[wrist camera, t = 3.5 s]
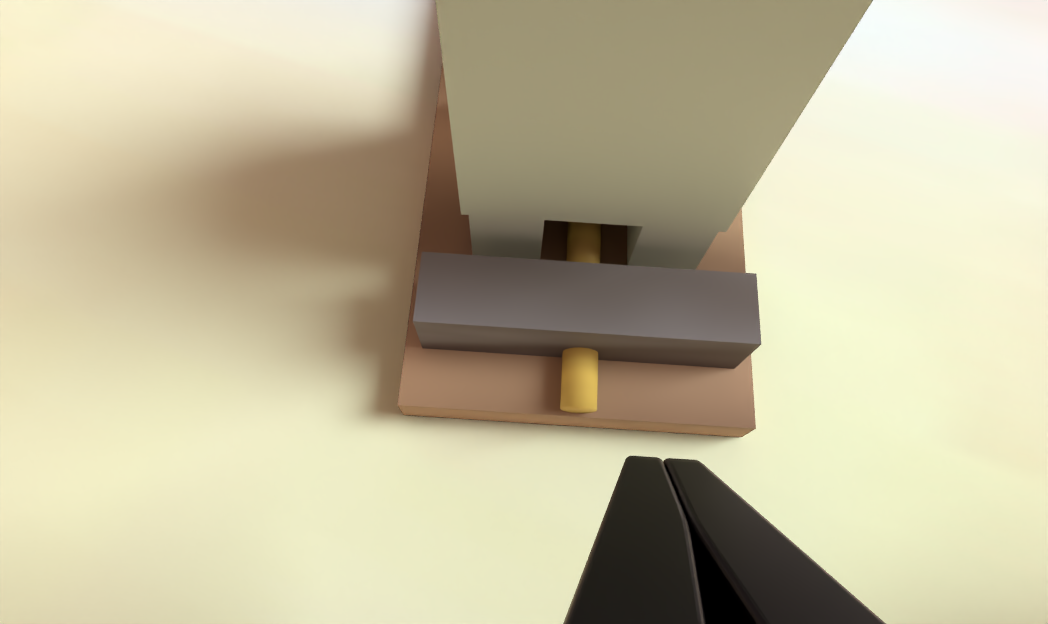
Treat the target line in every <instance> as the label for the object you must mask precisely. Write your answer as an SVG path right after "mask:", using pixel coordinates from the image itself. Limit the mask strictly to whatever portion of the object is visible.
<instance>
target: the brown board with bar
mask: <svg viewBox="0 0 1048 624" xmlns="http://www.w3.org/2000/svg"><path fill="white" fill-rule="evenodd" d="M760 345H761V334H760V319H759V305H758V291H757V277H756V274H752V273H746V271H745V256H744V240H743V225H742V210H741V209H740V211H739V213H738V214H737V216H736V217H735V219H734V220H733V222H732V224H731V225H730V227H729V228H728V230H727V232H718V233H717V235H716V237H715V238H714V240H713V242H712V243H711V245H710V246H709V248H708V250H707V251H706V253H705V255H704V256H703V258H702V260H701V261H700V263H699V264H698V266H697V268H696V269H695V270H691V269H676V268H661V267H646V266H631V265H627V225H613V224H598V223H583V222H568V221H552V220H544V228H543V238H542V247H541V256H540V259H525V258H510V257H495V256H480V255H473V254H472V244H471V234H470V224H469V215H462V214H461V210H460V202H459V193H458V185H457V177H456V168H455V160H454V152H453V143H452V135H451V127H450V118H449V110H448V101H447V93H446V85H445V76H444V68H443V63H442V70H441V78H440V86H439V93H438V101H437V108H436V116H435V124H434V131H433V139H432V146H431V154H430V162H429V169H428V177H427V184H426V192H425V200H424V207H423V215H422V222H421V230H420V238H419V245H418V253H417V260H416V268H415V276H414V283H413V291H412V298H411V306H410V314H409V321H408V329H407V336H406V344H405V352H404V359H403V367H402V374H401V382H400V390H399V397H398V407H399V408H400V410H401V412H402V413H403V415H414V416H430V417H445V418H460V419H475V420H490V421H506V422H521V423H536V424H551V425H567V426H582V427H597V428H612V429H628V430H643V431H658V432H673V433H688V434H704V435H719V436H734V437H743V436H744V435H746V434H748V433H749V432H751V431H752V430H754V429H756V425H755V410H754V395H753V379H752V364H751V353H752V352H753V351H754V350H756V349H757V348H758V347H759V346H760Z"/></svg>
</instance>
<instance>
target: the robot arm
mask: <svg viewBox="0 0 1048 624" xmlns="http://www.w3.org/2000/svg"><path fill="white" fill-rule="evenodd" d="M563 624H886V623H884V622H883V621H882V620H881V619H880V618H879V617H878V616H876V615H875V614H874V613H873V612H872V611H871V610H870V609H868V608H867V607H866V606H865V605H864V604H863V603H862V602H860V601H859V600H858V599H857V598H856V597H855V596H854V595H852V594H851V593H850V592H849V591H848V590H847V589H846V588H844V587H843V586H842V585H841V584H840V583H839V582H837V581H836V580H835V579H834V578H833V577H832V576H831V575H829V574H828V573H827V572H826V571H825V570H824V569H823V568H821V567H820V566H819V565H818V564H817V563H816V562H815V561H813V560H812V559H811V558H810V557H809V556H808V555H807V554H805V553H804V552H803V551H802V550H801V549H800V548H799V547H797V546H796V545H795V544H794V543H793V542H792V541H791V540H789V539H788V538H787V537H786V536H785V535H784V534H783V533H781V532H780V531H779V530H778V529H777V528H776V527H775V526H773V525H772V524H771V523H770V522H769V521H768V520H767V519H765V518H764V517H763V516H762V515H761V514H760V513H759V512H757V511H756V510H755V509H754V508H753V507H752V506H751V505H749V504H748V503H747V502H746V501H745V500H744V499H743V498H741V497H740V496H739V495H738V494H737V493H736V492H734V491H733V490H732V489H731V488H730V487H729V486H728V485H726V484H725V483H724V482H723V481H722V480H721V479H720V478H718V477H717V476H716V475H715V474H714V473H713V472H712V471H710V470H709V469H708V468H707V467H706V466H705V465H704V464H702V463H701V462H699V461H697V460H688V459H671V458H668V459H666V460H664V461H662V460H661V459H660V458H656V457H642V456H629V457H627V458H626V460H625V462H624V465H623V468H622V470H621V473H620V476H619V478H618V481H617V484H616V486H615V489H614V491H613V494H612V497H611V499H610V502H609V505H608V507H607V510H606V513H605V515H604V518H603V520H602V523H601V526H600V528H599V531H598V534H597V536H596V539H595V542H594V544H593V547H592V549H591V552H590V555H589V557H588V560H587V563H586V565H585V568H584V571H583V573H582V576H581V578H580V581H579V584H578V586H577V589H576V592H575V594H574V597H573V599H572V602H571V605H570V607H569V610H568V613H567V615H566V618H565V621H564V623H563Z"/></svg>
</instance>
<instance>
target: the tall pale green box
mask: <svg viewBox="0 0 1048 624" xmlns="http://www.w3.org/2000/svg"><path fill="white" fill-rule="evenodd" d="M435 1H436V10H437V18H438V26H439V35H440V43H441V51H442V60H443V68H444V76H445V85H446V93H447V101H448V110H449V118H450V127H451V135H452V143H453V152H454V160H455V168H456V177H457V185H458V193H459V202H460V210H461V214H462V215H469V224H470V234H471V244H472V254H473V255H480V256H495V257H510V258H525V259H540V256H541V247H542V238H543V228H544V220H552V221H568V222H583V223H598V224H613V225H627V265H631V266H646V267H661V268H676V269H691V270H695V269H696V268H697V266H698V264H699V263H700V261H701V260H702V258H703V256H704V255H705V253H706V251H707V250H708V248H709V246H710V245H711V243H712V242H713V240H714V238H715V237H716V235H717V233H718V232H727V230H728V228H729V227H730V225H731V224H732V222H733V220H734V219H735V217H736V216H737V214H738V213H739V211H740V209H741V208H742V206H743V205H744V203H745V202H746V200H747V198H748V197H749V195H750V194H751V192H752V190H753V189H754V187H755V186H756V184H757V183H758V181H759V179H760V178H761V176H762V175H763V173H764V172H765V170H766V168H767V167H768V165H769V164H770V162H771V160H772V159H773V157H774V156H775V154H776V153H777V151H778V149H779V148H780V146H781V145H782V143H783V142H784V140H785V138H786V137H787V135H788V134H789V132H790V130H791V129H792V127H793V126H794V124H795V123H796V121H797V119H798V118H799V116H800V115H801V113H802V111H803V110H804V108H805V107H806V105H807V104H808V102H809V100H810V99H811V97H812V96H813V94H814V93H815V91H816V89H817V88H818V86H819V85H820V83H821V81H822V80H823V78H824V77H825V75H826V74H827V72H828V70H829V69H830V67H831V66H832V64H833V63H834V61H835V59H836V58H837V56H838V55H839V53H840V51H841V50H842V48H843V47H844V45H845V44H846V42H847V40H848V39H849V37H850V36H851V34H852V33H853V31H854V29H855V28H856V26H857V25H858V23H859V21H860V20H861V18H862V17H863V15H864V14H865V12H866V10H867V9H868V7H869V6H870V4H871V3H872V1H873V0H435Z"/></svg>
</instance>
